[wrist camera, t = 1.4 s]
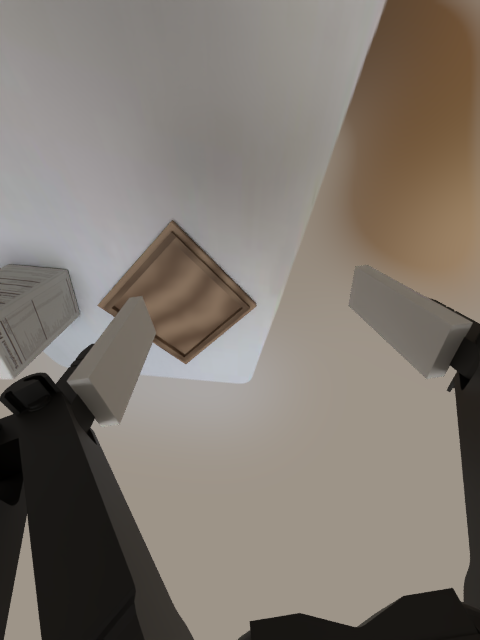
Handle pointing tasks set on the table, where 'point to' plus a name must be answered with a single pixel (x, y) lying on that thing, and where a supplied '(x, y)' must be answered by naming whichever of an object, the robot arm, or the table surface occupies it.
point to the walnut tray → (181, 294)
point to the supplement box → (32, 313)
